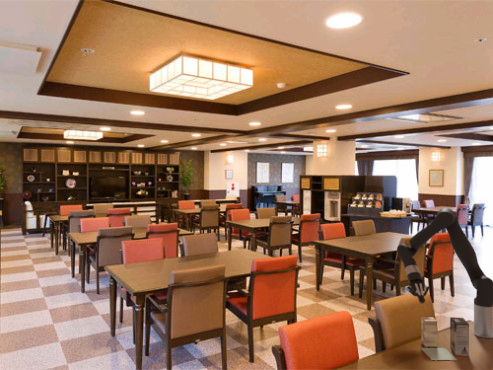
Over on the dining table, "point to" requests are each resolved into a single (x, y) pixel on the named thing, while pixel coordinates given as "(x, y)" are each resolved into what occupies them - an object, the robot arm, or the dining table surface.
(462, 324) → the coffee box
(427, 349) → the mat
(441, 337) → the dining table surface
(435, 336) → the maple block
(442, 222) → the robot arm
